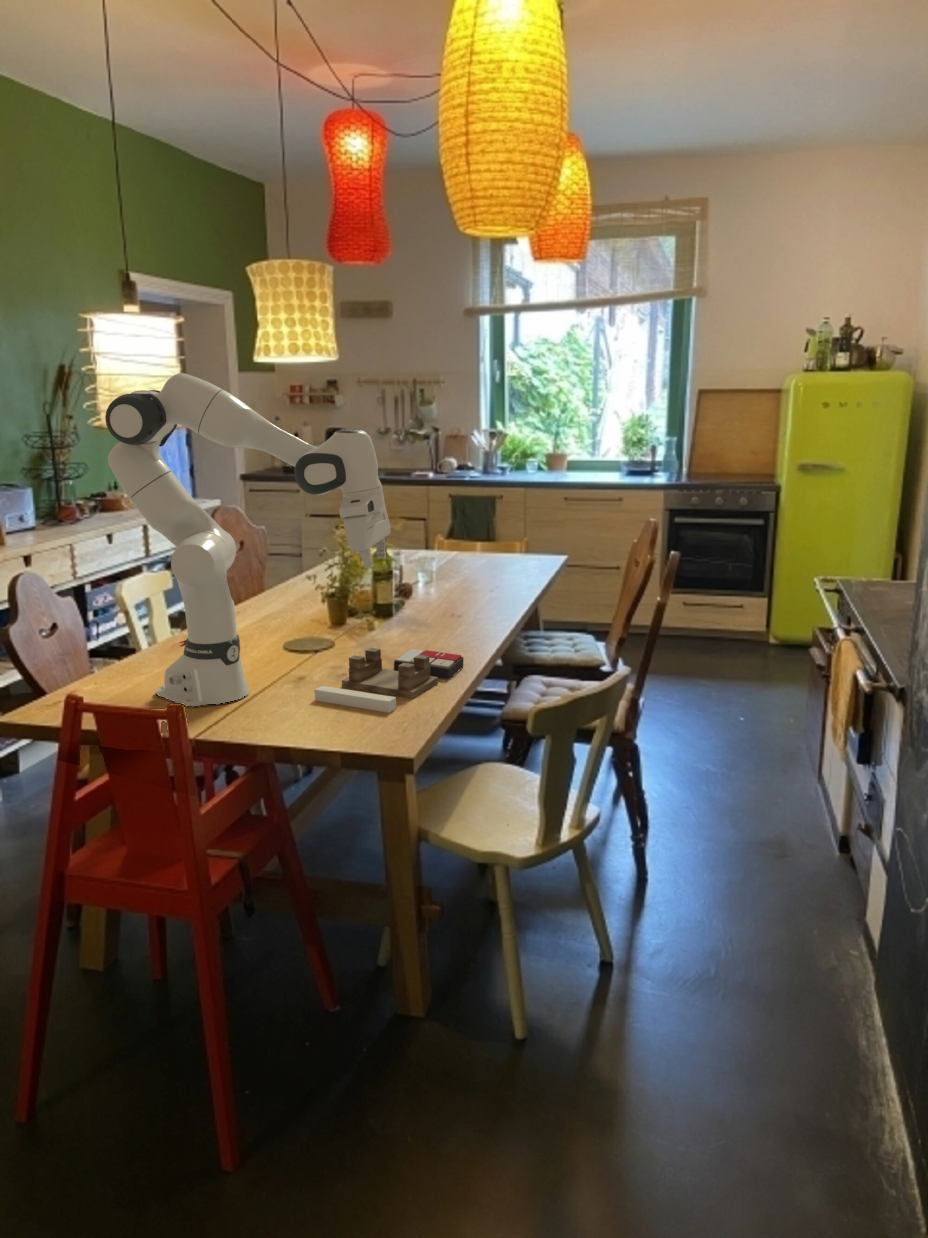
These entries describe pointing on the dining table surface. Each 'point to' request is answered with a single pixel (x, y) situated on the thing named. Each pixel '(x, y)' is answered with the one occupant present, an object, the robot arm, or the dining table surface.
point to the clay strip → (355, 699)
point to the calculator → (434, 662)
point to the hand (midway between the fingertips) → (375, 562)
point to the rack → (389, 675)
